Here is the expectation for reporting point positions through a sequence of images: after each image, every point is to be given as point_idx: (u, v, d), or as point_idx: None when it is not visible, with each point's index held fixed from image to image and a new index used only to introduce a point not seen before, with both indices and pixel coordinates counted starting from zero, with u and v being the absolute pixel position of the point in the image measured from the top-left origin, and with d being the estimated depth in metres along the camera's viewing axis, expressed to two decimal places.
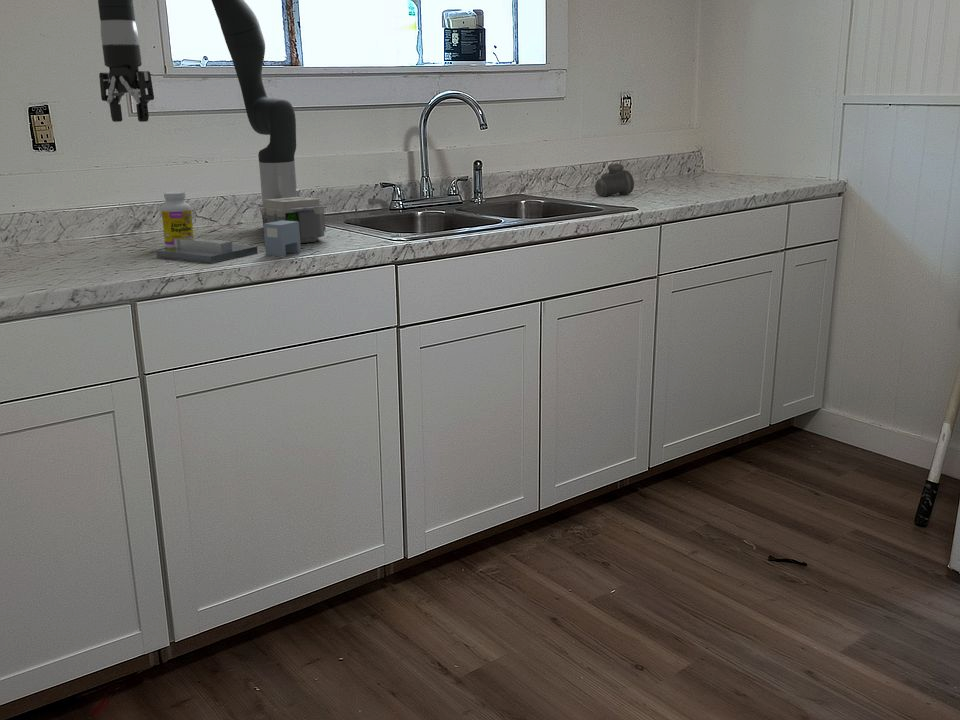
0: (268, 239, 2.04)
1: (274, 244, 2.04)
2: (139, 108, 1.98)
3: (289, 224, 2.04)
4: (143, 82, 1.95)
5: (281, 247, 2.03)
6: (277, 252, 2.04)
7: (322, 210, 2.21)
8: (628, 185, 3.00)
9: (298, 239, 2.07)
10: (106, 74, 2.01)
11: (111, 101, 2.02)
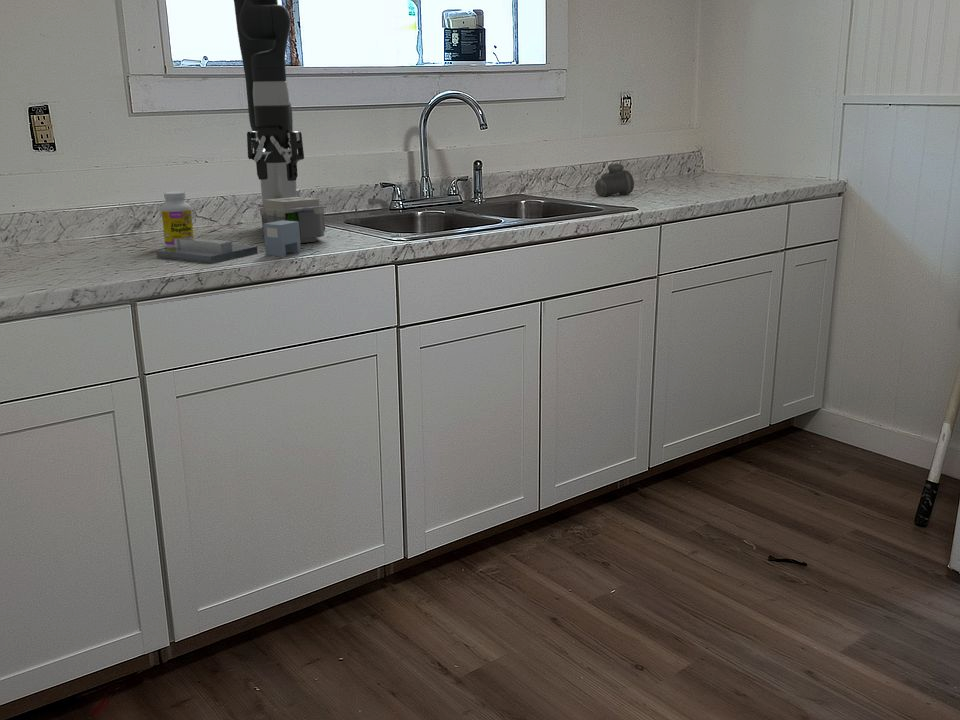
0: (268, 239, 2.04)
1: (274, 244, 2.04)
2: (289, 168, 1.99)
3: (289, 224, 2.04)
4: (295, 142, 1.96)
5: (281, 247, 2.03)
6: (277, 252, 2.04)
7: (322, 210, 2.21)
8: (628, 185, 3.00)
9: (298, 239, 2.07)
10: (254, 133, 2.02)
11: (258, 160, 2.03)
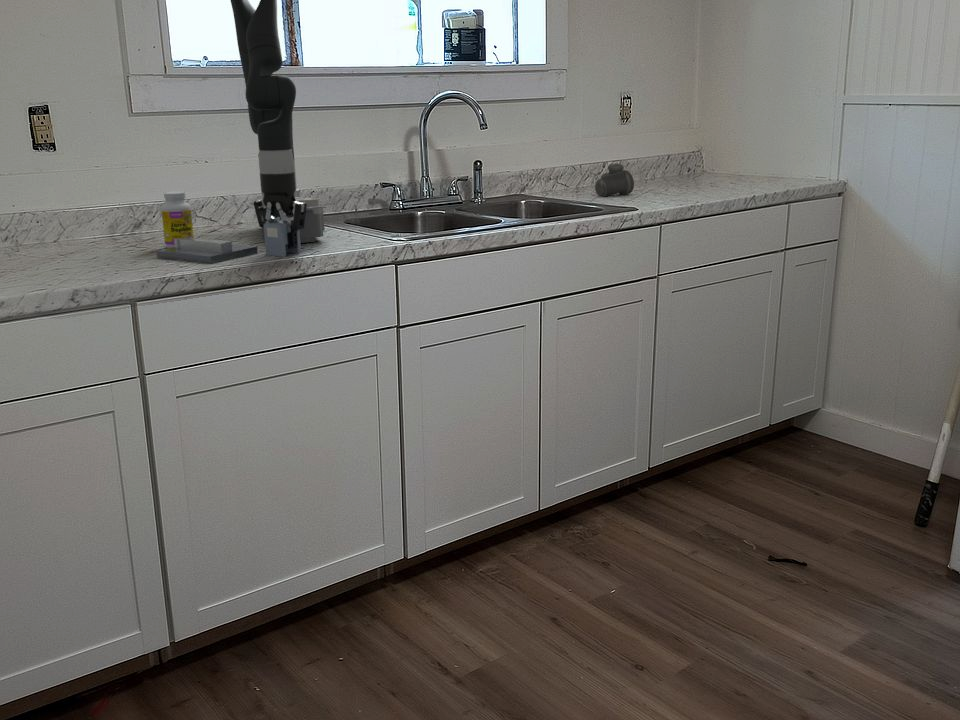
0: (268, 239, 2.04)
1: (274, 244, 2.04)
2: (289, 236, 2.04)
3: None
4: (299, 214, 2.01)
5: (281, 247, 2.03)
6: (277, 252, 2.04)
7: (321, 210, 2.21)
8: (628, 185, 3.00)
9: (298, 239, 2.07)
10: (260, 201, 2.06)
11: None
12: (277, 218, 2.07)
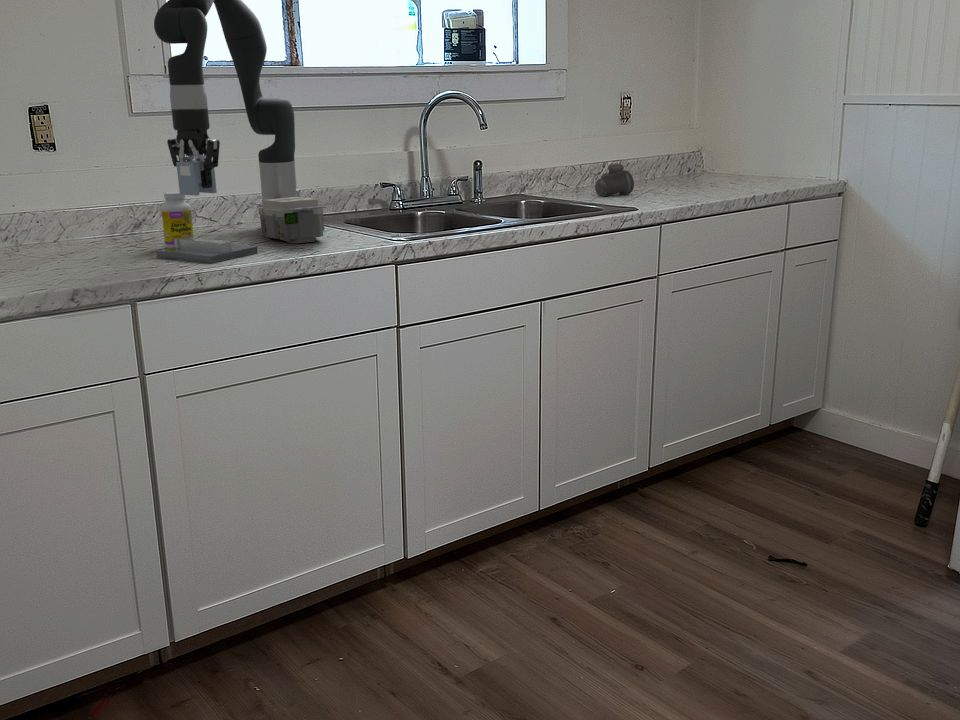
0: (182, 178, 1.99)
1: (187, 183, 1.99)
2: (203, 175, 1.99)
3: None
4: (211, 151, 1.96)
5: (194, 186, 1.98)
6: (190, 191, 1.99)
7: (321, 210, 2.21)
8: (628, 185, 3.00)
9: (213, 179, 2.02)
10: (174, 140, 2.01)
11: None
12: (191, 157, 2.02)
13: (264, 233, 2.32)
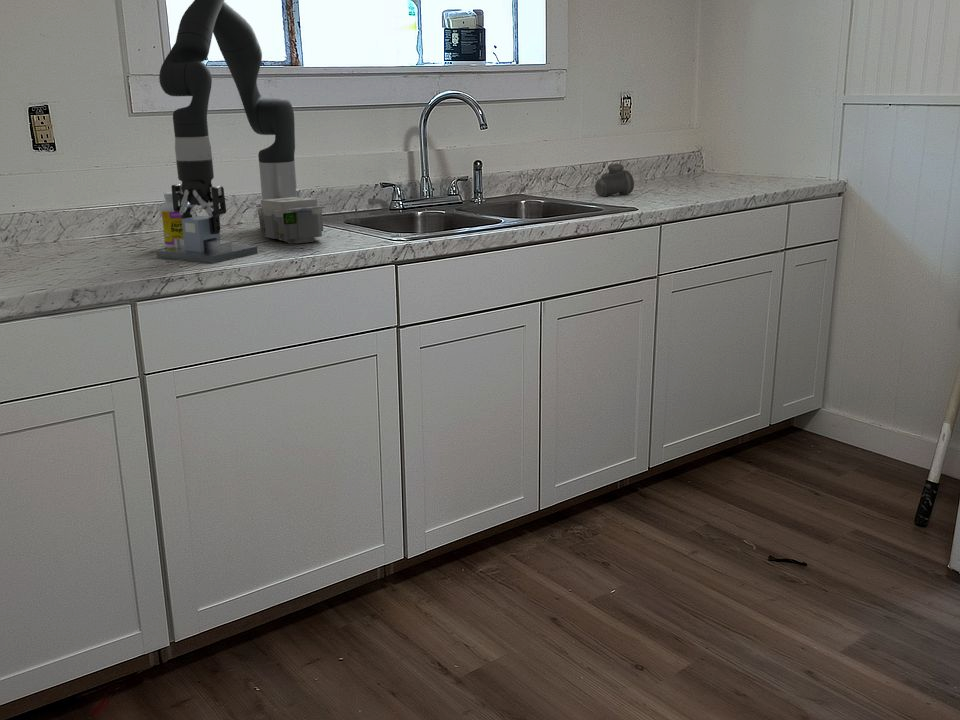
0: (187, 234, 2.03)
1: (192, 239, 2.03)
2: (211, 221, 2.01)
3: (207, 219, 2.03)
4: (217, 198, 1.98)
5: (199, 242, 2.02)
6: (195, 247, 2.03)
7: (320, 210, 2.21)
8: (628, 185, 3.00)
9: (218, 234, 2.06)
10: (178, 186, 2.04)
11: (183, 213, 2.05)
12: (193, 204, 2.05)
13: (263, 233, 2.31)
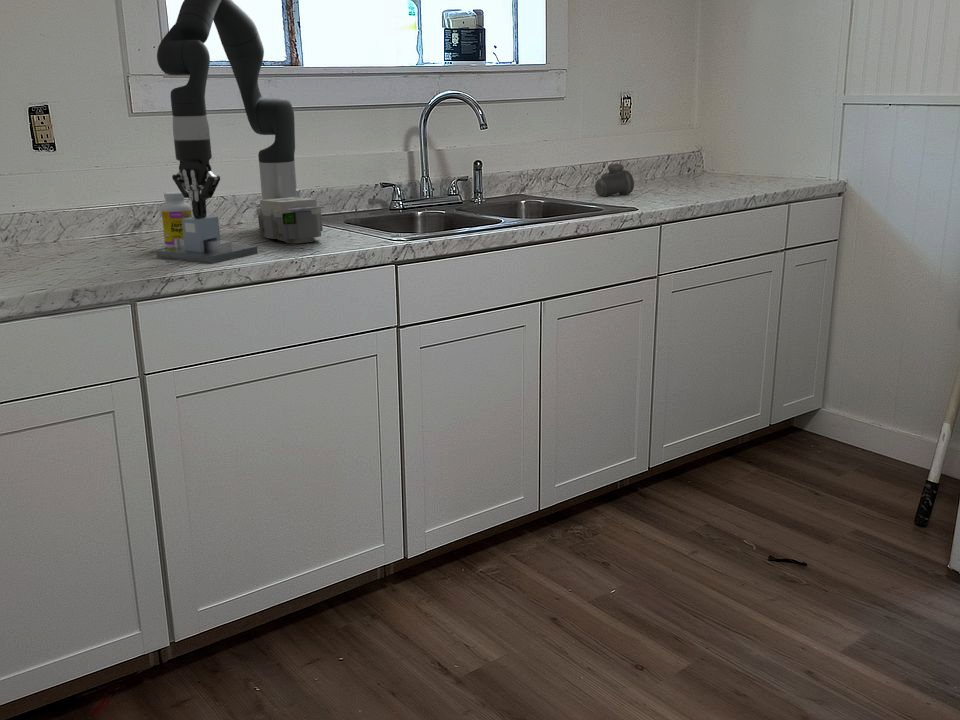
0: (187, 234, 2.03)
1: (192, 239, 2.03)
2: (197, 206, 2.02)
3: (207, 219, 2.03)
4: (209, 187, 1.99)
5: (199, 242, 2.02)
6: (195, 247, 2.03)
7: (319, 210, 2.21)
8: (628, 185, 3.00)
9: (218, 234, 2.06)
10: (178, 173, 2.03)
11: (193, 198, 2.02)
12: None
13: (262, 233, 2.31)
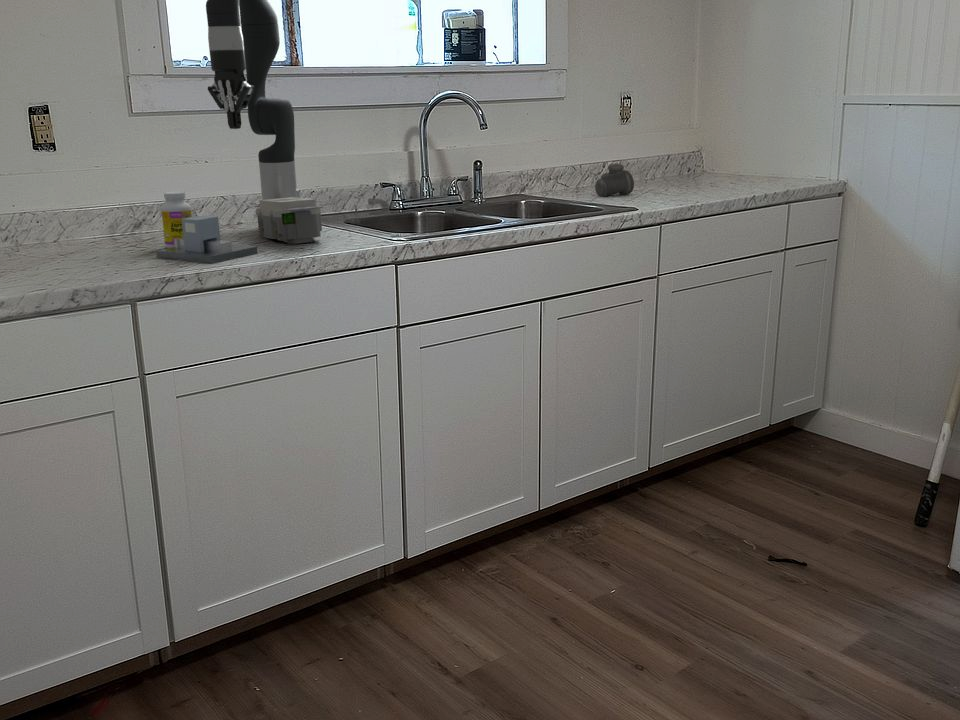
0: (187, 234, 2.03)
1: (192, 239, 2.03)
2: (233, 116, 2.08)
3: (207, 219, 2.03)
4: (244, 96, 2.04)
5: (199, 242, 2.02)
6: (195, 247, 2.03)
7: (318, 210, 2.21)
8: (628, 185, 3.00)
9: (218, 234, 2.06)
10: (213, 85, 2.09)
11: (229, 109, 2.08)
12: None
13: (261, 233, 2.31)
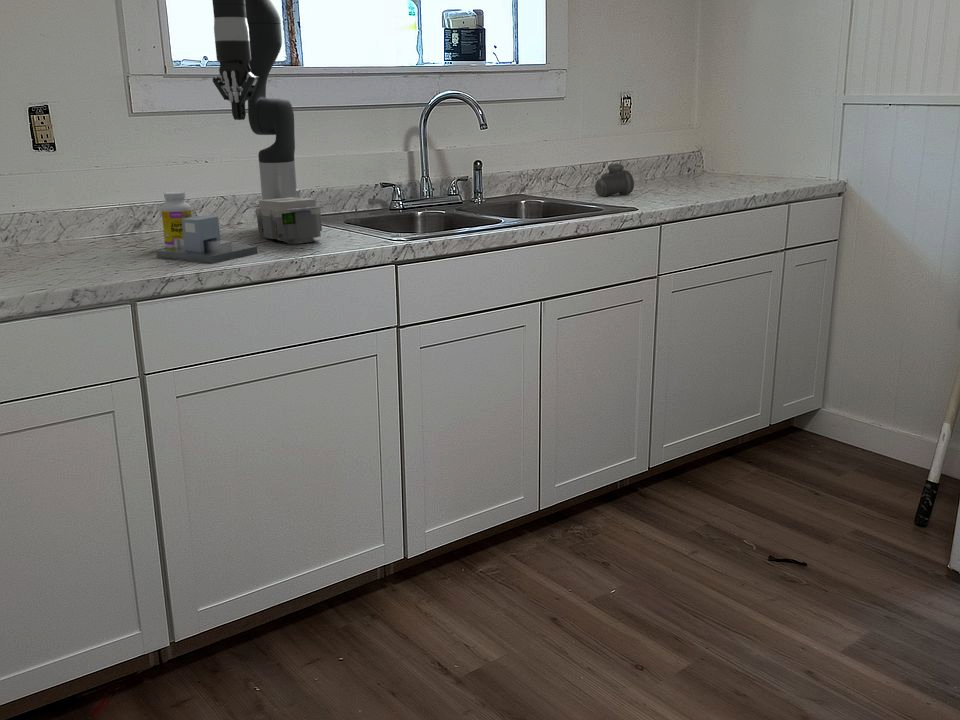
0: (187, 234, 2.03)
1: (192, 239, 2.03)
2: (237, 107, 2.09)
3: (207, 219, 2.03)
4: (249, 87, 2.05)
5: (199, 242, 2.02)
6: (195, 247, 2.03)
7: (318, 210, 2.21)
8: (628, 185, 3.00)
9: (218, 234, 2.06)
10: (218, 76, 2.10)
11: (233, 100, 2.09)
12: None
13: (261, 233, 2.31)
